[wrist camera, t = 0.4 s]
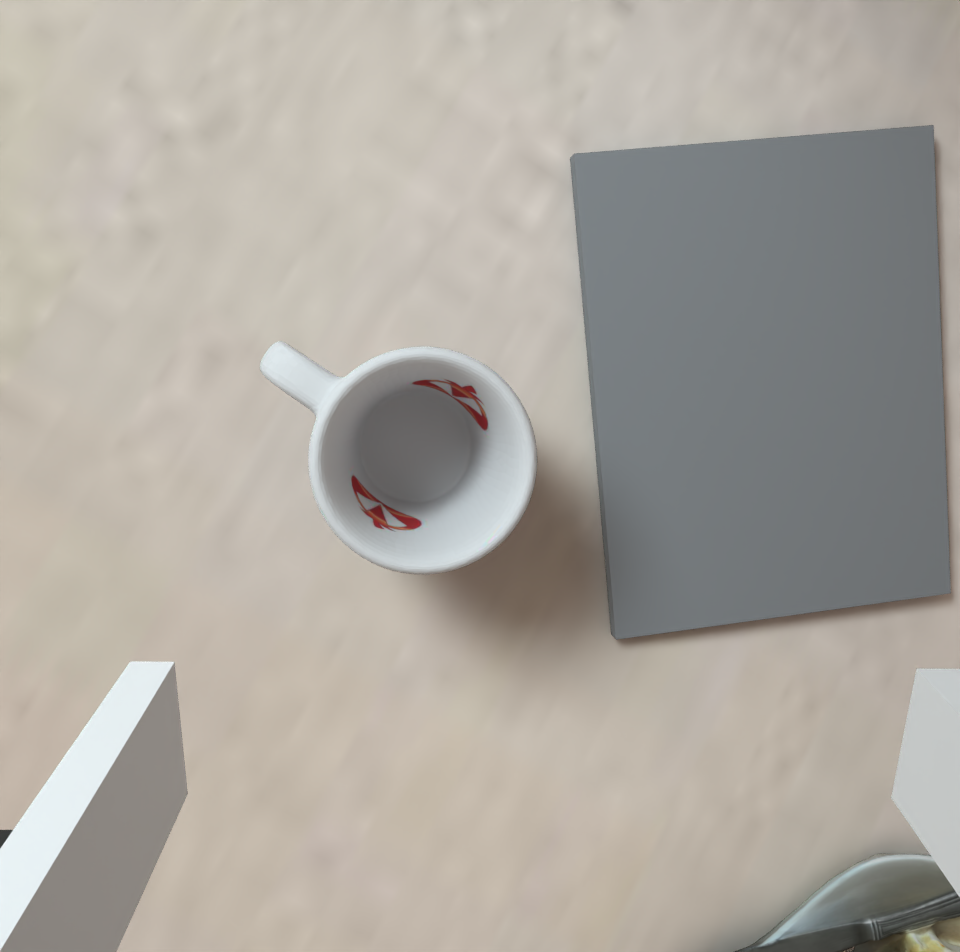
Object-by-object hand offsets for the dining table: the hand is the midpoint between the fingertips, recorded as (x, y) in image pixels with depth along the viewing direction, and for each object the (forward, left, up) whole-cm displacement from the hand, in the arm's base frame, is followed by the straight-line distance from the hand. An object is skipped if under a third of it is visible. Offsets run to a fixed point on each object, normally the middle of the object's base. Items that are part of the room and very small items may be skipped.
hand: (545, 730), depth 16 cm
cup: (-4, -2, -24) cm, 24 cm away
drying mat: (-4, +15, -23) cm, 28 cm away
